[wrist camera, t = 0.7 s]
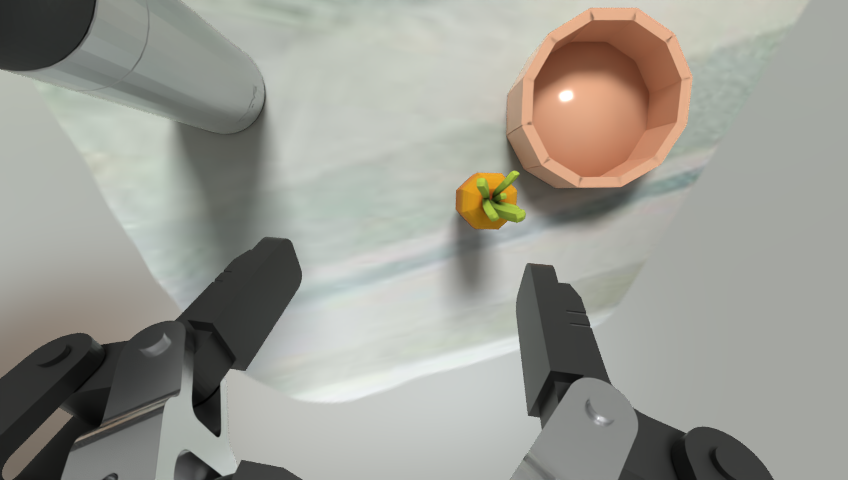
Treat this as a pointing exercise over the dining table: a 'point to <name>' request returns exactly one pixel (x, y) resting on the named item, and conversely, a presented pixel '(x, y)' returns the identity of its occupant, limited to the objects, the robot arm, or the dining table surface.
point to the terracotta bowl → (599, 100)
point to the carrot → (489, 200)
